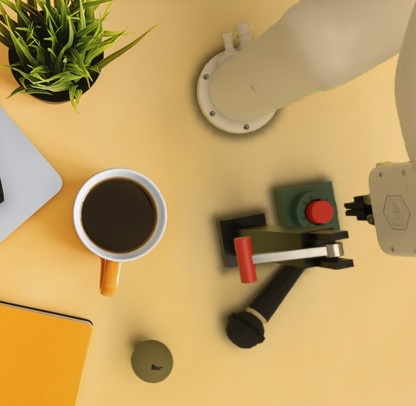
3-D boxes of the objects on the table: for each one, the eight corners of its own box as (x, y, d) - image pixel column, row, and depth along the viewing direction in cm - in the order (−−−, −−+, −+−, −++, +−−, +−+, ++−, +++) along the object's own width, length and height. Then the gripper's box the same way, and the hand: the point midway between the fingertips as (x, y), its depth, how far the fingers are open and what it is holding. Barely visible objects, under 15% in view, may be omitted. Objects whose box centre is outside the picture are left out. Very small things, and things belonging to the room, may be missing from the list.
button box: (273, 190, 83) (286, 189, 79) (323, 181, 83) (338, 180, 79) (282, 242, 83) (295, 244, 79) (332, 233, 83) (348, 234, 79)
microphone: (294, 235, 86) (214, 332, 82) (307, 225, 80) (222, 328, 76) (324, 258, 84) (244, 358, 80) (339, 249, 79) (255, 355, 75)
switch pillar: (216, 220, 82) (304, 222, 56) (261, 212, 82) (368, 211, 57) (224, 267, 82) (316, 289, 56) (269, 258, 82) (379, 277, 57)
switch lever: (234, 238, 63) (233, 239, 61) (338, 224, 59) (340, 225, 57) (241, 281, 63) (240, 284, 61) (346, 270, 59) (348, 273, 57)
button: (303, 203, 79) (310, 202, 77) (324, 199, 79) (331, 198, 78) (307, 224, 79) (314, 225, 77) (328, 221, 79) (335, 221, 78)
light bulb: (127, 372, 80) (142, 394, 70) (117, 335, 80) (130, 352, 70) (163, 360, 81) (183, 381, 71) (153, 324, 81) (171, 339, 71)
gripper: (426, 135, 51) (317, 154, 69) (451, 293, 51) (336, 270, 69) (500, 123, 52) (373, 145, 70) (524, 279, 52) (391, 260, 70)
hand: (355, 207), depth 70 cm, fingers closed
